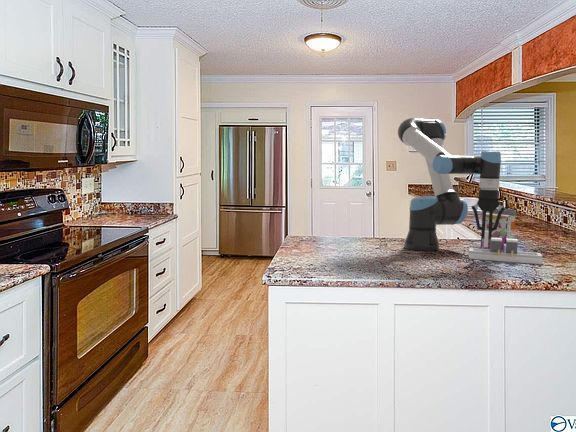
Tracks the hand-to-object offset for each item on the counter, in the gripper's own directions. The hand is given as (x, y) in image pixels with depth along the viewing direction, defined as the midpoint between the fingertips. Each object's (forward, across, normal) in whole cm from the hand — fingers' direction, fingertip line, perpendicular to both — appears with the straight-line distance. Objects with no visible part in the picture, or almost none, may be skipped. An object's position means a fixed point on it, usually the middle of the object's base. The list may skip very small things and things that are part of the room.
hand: (485, 246), depth 206 cm
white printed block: (+4, +10, +64) cm, 65 cm away
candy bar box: (+5, +4, +20) cm, 21 cm away
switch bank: (+5, +7, 0) cm, 9 cm away
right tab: (+3, +10, 0) cm, 10 cm away
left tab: (+3, +4, 0) cm, 5 cm away
